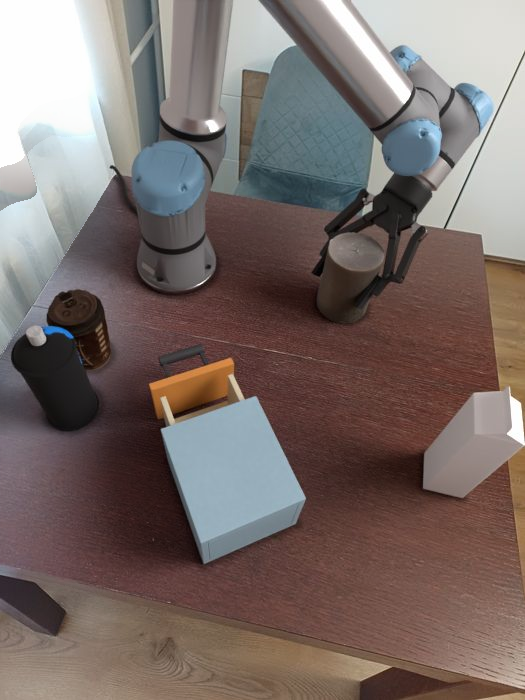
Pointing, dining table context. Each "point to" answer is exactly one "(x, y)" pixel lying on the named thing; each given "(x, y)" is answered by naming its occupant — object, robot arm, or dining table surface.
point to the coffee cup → (82, 325)
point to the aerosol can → (56, 376)
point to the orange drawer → (193, 386)
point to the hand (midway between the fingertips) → (336, 290)
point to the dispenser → (232, 477)
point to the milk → (474, 443)
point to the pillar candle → (348, 275)
